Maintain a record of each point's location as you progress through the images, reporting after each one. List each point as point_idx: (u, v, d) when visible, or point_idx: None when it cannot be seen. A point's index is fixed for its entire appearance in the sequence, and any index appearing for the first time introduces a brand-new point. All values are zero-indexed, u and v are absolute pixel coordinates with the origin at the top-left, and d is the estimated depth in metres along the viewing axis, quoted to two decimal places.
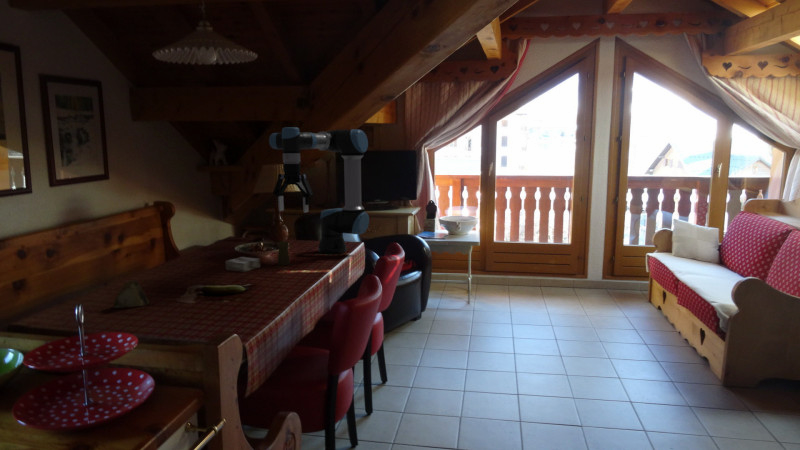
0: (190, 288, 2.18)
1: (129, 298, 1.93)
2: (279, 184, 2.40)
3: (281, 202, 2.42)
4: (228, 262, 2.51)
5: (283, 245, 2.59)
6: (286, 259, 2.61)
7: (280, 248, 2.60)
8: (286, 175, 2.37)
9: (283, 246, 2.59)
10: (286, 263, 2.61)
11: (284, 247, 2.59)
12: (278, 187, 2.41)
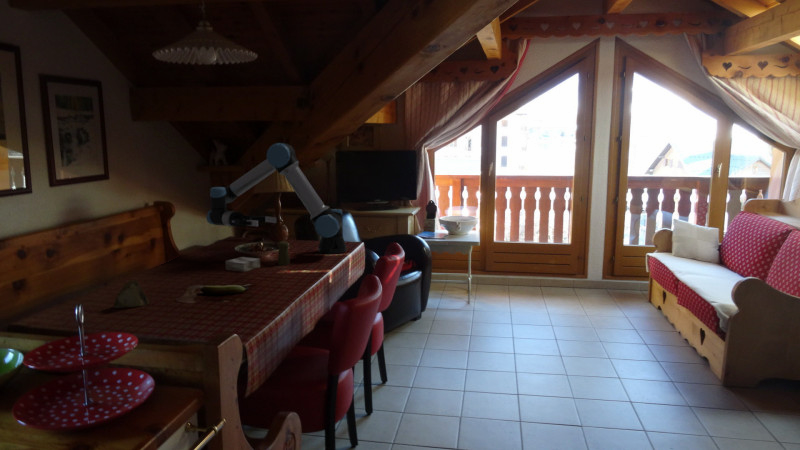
0: (190, 288, 2.18)
1: (129, 298, 1.93)
2: None
3: (269, 219, 2.71)
4: (228, 262, 2.51)
5: (283, 245, 2.59)
6: (286, 259, 2.61)
7: (280, 248, 2.60)
8: None
9: (283, 246, 2.59)
10: (286, 263, 2.61)
11: (284, 247, 2.59)
12: None
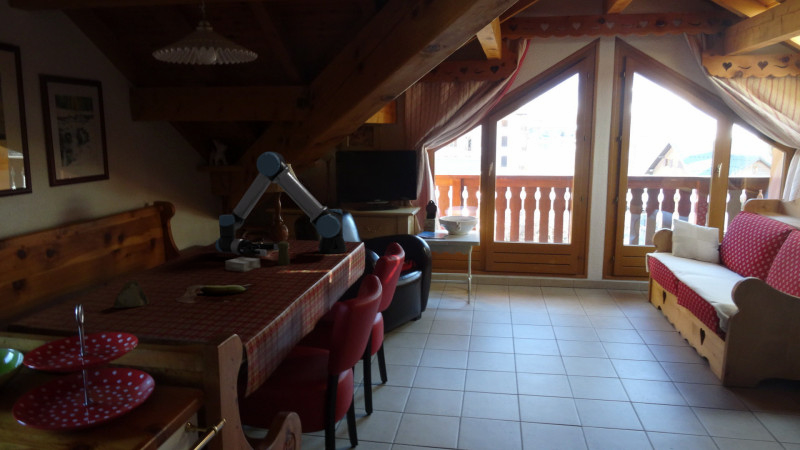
0: (190, 288, 2.18)
1: (129, 298, 1.93)
2: None
3: None
4: (228, 262, 2.51)
5: (283, 245, 2.59)
6: (286, 259, 2.61)
7: (280, 248, 2.60)
8: None
9: (283, 246, 2.59)
10: (286, 263, 2.61)
11: (284, 247, 2.59)
12: None
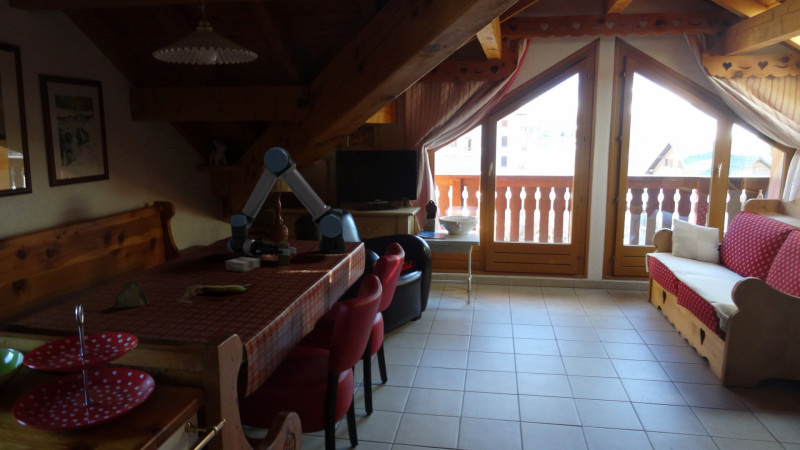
0: (190, 288, 2.18)
1: (129, 298, 1.93)
2: None
3: (288, 250, 2.63)
4: (228, 262, 2.51)
5: (283, 245, 2.59)
6: (286, 259, 2.61)
7: (280, 248, 2.60)
8: None
9: (283, 246, 2.59)
10: (286, 263, 2.61)
11: (284, 247, 2.59)
12: None
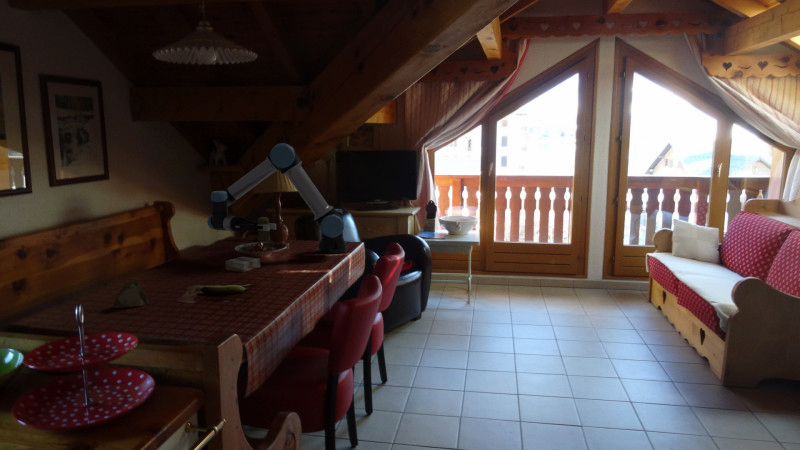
0: (190, 288, 2.18)
1: (129, 298, 1.93)
2: None
3: (269, 226, 2.58)
4: (228, 262, 2.51)
5: (263, 220, 2.54)
6: (266, 235, 2.56)
7: None
8: None
9: (263, 221, 2.54)
10: (266, 239, 2.56)
11: (264, 223, 2.54)
12: None
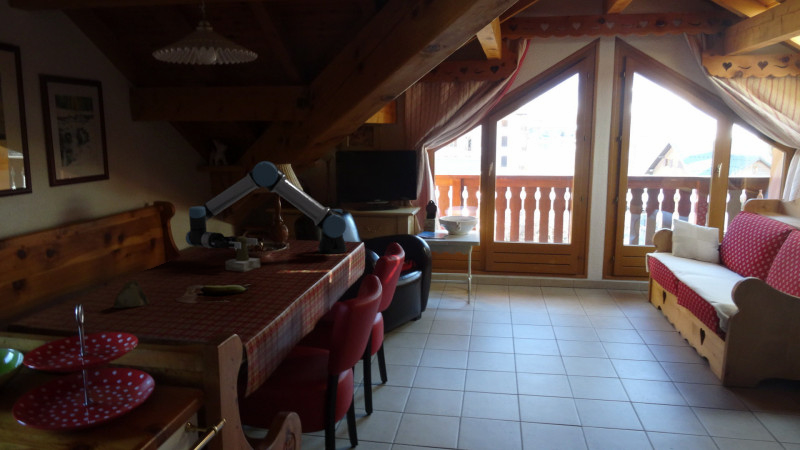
0: (190, 288, 2.18)
1: (129, 298, 1.93)
2: None
3: (250, 241, 2.57)
4: (228, 262, 2.51)
5: (241, 240, 2.50)
6: (244, 255, 2.52)
7: None
8: None
9: (241, 241, 2.50)
10: (244, 259, 2.52)
11: (242, 242, 2.51)
12: None
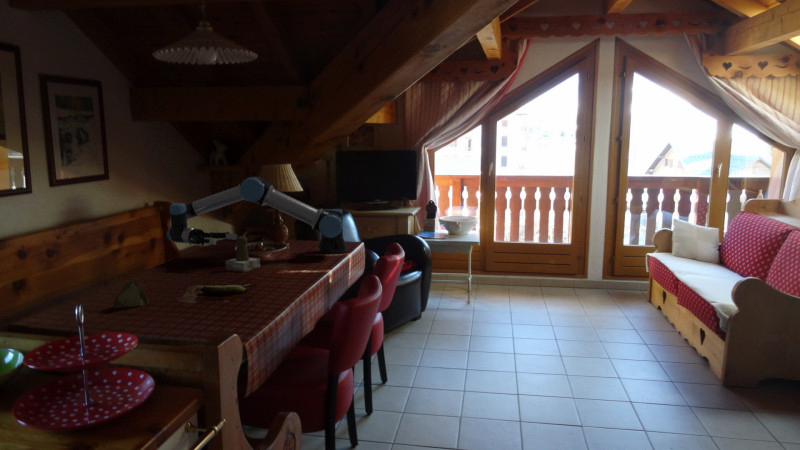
0: (190, 288, 2.18)
1: (129, 298, 1.93)
2: None
3: (230, 236, 2.64)
4: (228, 262, 2.51)
5: (241, 240, 2.50)
6: (244, 255, 2.52)
7: (238, 243, 2.51)
8: None
9: (241, 241, 2.50)
10: (244, 259, 2.52)
11: (242, 242, 2.51)
12: None
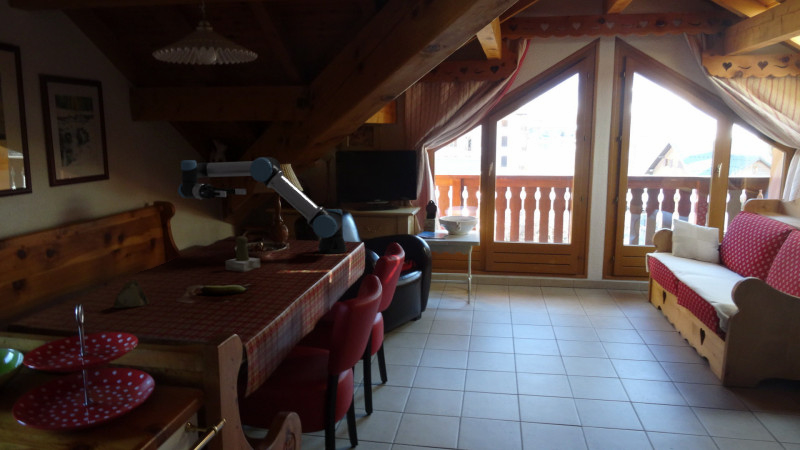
0: (190, 288, 2.18)
1: (129, 298, 1.93)
2: None
3: (239, 191, 2.73)
4: (228, 262, 2.51)
5: (241, 240, 2.50)
6: (244, 255, 2.52)
7: (238, 243, 2.51)
8: None
9: (241, 241, 2.50)
10: (244, 259, 2.52)
11: (242, 242, 2.51)
12: None
